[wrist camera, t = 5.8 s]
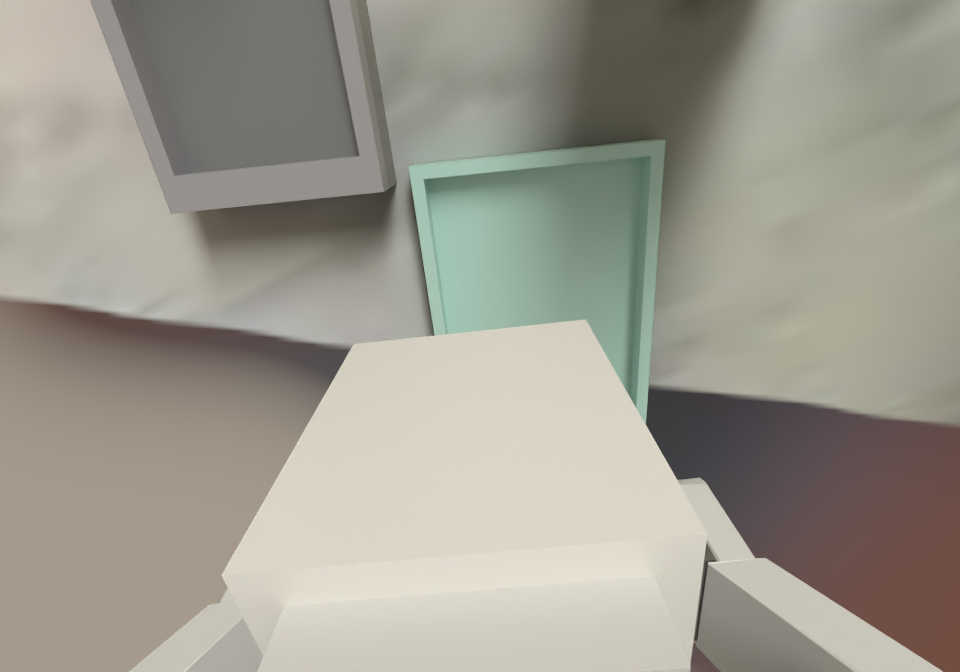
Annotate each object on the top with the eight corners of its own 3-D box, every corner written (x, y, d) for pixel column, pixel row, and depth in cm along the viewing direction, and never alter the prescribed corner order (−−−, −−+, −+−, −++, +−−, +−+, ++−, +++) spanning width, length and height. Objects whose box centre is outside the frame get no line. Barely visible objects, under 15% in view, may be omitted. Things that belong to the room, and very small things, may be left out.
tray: (653, 139, 21) (665, 139, 20) (637, 411, 28) (645, 426, 27) (413, 164, 22) (408, 166, 21) (452, 426, 28) (450, 441, 27)
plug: (585, 319, 9) (757, 623, 3) (589, 543, 11) (690, 919, 6) (354, 344, 9) (167, 668, 4) (408, 559, 11) (349, 936, 6)
